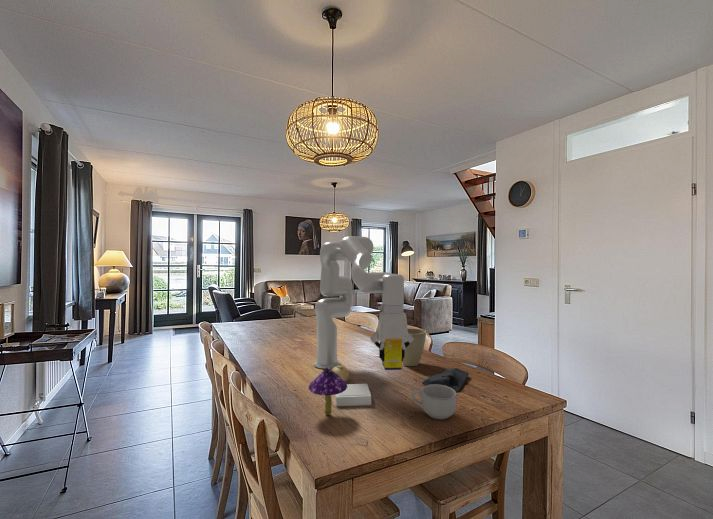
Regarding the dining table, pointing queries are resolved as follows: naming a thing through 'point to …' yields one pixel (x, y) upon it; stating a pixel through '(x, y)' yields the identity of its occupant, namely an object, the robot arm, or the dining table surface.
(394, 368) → the supplement box
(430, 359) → the dining table surface
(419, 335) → the plant pot
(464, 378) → the dark slate chunk
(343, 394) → the blank white picture frame
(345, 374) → the onion
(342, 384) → the decorative mushroom
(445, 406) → the teacup
